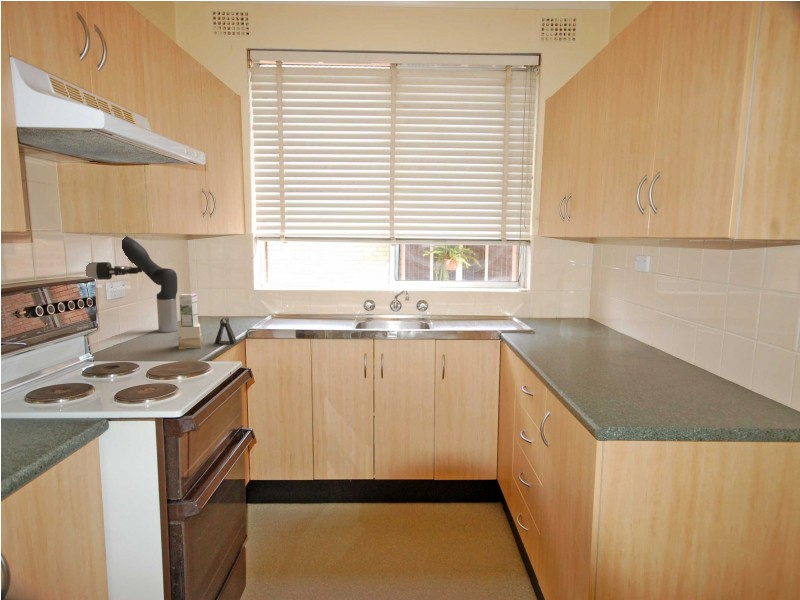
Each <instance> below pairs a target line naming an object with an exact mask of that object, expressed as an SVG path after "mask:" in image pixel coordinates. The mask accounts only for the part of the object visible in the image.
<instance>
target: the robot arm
mask: <svg viewBox="0 0 800 600" xmlns="http://www.w3.org/2000/svg"><path fill="white" fill-rule="evenodd" d="M125 236H126V237H125V238H124V239H123V240H122V249H123V251H124V253H125V255H126V256H127V257H128V259H129V260H130V261H131V262H130V261H129V260H128V259H127V260H128V261H129V262H130V263H132V264H133V263H134V264H135V265H136V267H135V266H134V267H132V266H127V265H126V266H125V265H124V266H123V265H116V266H115V265H114V266H112V263H111V262H108V261H107V262H106V261H103V262H100V261H98V262H97V261H95V262H94V261H93V262H92V261H90V262H91V263H90V262H88V263H89V264H88V265H87V266H86V270H85V271H86V276H88V277H93V278H95V279H96V280H95V281H97V280H99V281H100V280H101V281H103V280H104V281H105V280H107V281H108V280H111V279H112V278H113V276H118V277H119V276H125V275H133V274H135V275H138V274H139V273H142V272H143V274H145V275H146V276H147V277H148V278H149V279H150V280H151V281H152V282H153V283H154V284H155V285H158V286H160V291H159V292H157V293H156V307H157V309H156V311H157V325H158V332H160V333H173V332H177V331H178V330H179V329H178V328H179V326H178V323H179V322H178V311H177V310H178V308H177V307H178V305H177V295H178V275H177V272H176V271H175V270H174V269H172V268H164V267H162V266H159V265H158V264H157V263H155V262H154V261H153V260H152V258H150V255H149V253H148V252H147V250H146V248H145V247H143V246H142V245H141V244H140V243H139V242H137V241H136V240H135V239H133V238H131V237H129V236H128V235H125ZM134 264H133V265H134Z"/></svg>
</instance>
